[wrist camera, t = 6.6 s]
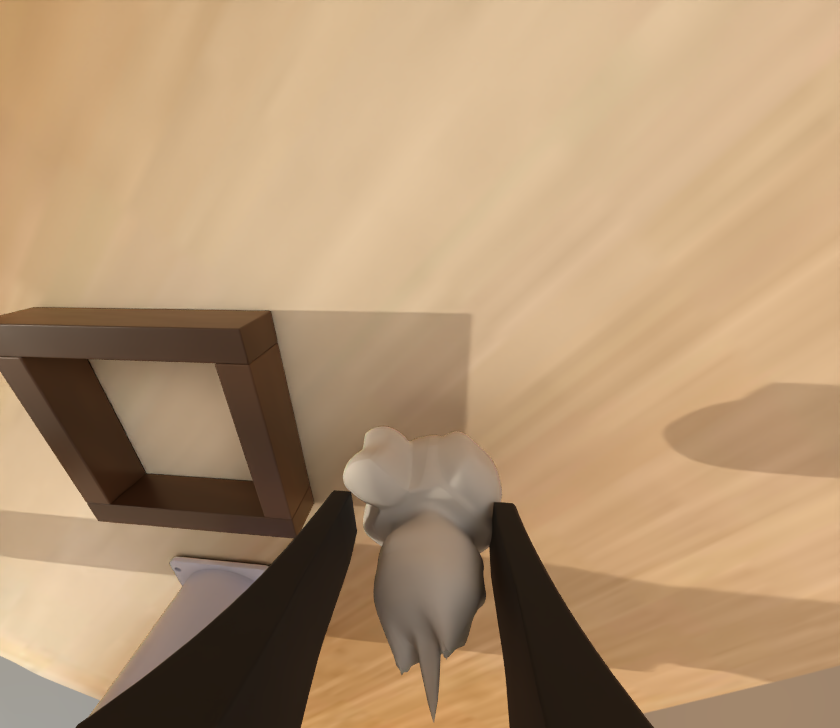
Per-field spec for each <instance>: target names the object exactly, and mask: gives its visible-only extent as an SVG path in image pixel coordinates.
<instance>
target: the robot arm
mask: <svg viewBox="0 0 840 728" xmlns="http://www.w3.org/2000/svg"><path fill="white" fill-rule="evenodd" d="M356 534H357V528H356V521H355V515H354V508H353V501H352V495H351V492H349V491H335V490H334V491H333V492H332V493H331V494H330V495H329V497H328V498H327V499H326V500H325V502H324V503H323V504H322V506H321V507H320V508H319V509H318V511H317V512H316V513H315V514H314V516H313V517H312V518H311V519H310V521H309V522H308V523H307V524H306V525H305V527H304V528H303V529H302V530H301V531H300V532H299V534H298V535H297V536H296V537H295V538H294V539H293V541H292V542H291V543H290V544H289V545H288V546H287V548H286V549H285V550H284V551H283V552H282V553H281V554H280V555H279V556H278V557H277V558H276V560H275V561H274V562H273V563H272V564H271V565H270V566H267V565H259V564H249V563H238V562H228V561H218V560H208V559H198V558H187V557H173V558H172V560H171V561H170V566H171V567H172V569H173V571H174V573H175V574H176V576H177V578H178V580H179V582H180V583H181V585H182V588H181V589H180V590H179V592H178V593H177V594H176V596H175V597H174V599H173V600H172V601H171V603H170V604H169V606H168V607H167V608H166V610H165V611H164V613H163V614H162V615H161V617H160V618H159V620H158V621H157V622H156V624H155V625H154V626H153V628H152V629H151V631H150V632H149V633H148V635H147V636H146V638H145V639H144V640H143V642H142V643H141V645H140V646H139V647H138V649H137V650H136V652H135V653H134V654H133V656H132V657H131V658H130V660H129V661H128V663H127V664H126V665H125V667H124V668H123V670H122V671H121V672H120V674H119V675H118V677H117V678H116V679H115V681H114V682H113V684H112V685H111V686H110V688H109V689H108V690H107V692H106V693H105V695H104V696H103V697H102V699H101V700H100V702H99V703H98V704H97V706H96V707H95V709H94V710H93V712H92V713H91V714H90V716H89V717H88V718H86V719H85V720H84V721H82V722H81V723H79V724H78V725H77V726H76V728H301V724H302V720H303V716H304V712H305V708H306V704H307V699H308V695H309V691H310V688H311V684H312V680H313V676H314V672H315V668H316V664H317V661H318V657H319V653H320V650H321V647H322V644H323V640H324V637H325V634H326V631H327V628H328V625H329V623H330V620H331V617H332V614H333V611H334V608H335V605H336V602H337V599H338V596H339V593H340V591H341V588H342V585H343V582H344V579H345V576H346V573H347V570H348V567H349V564H350V560H351V556H352V552H353V547H354V543H355V538H356ZM489 548H490V566H491V579H492V586H493V592H494V599H495V606H496V612H497V619H498V626H499V632H500V639H501V645H502V652H503V659H504V667H505V675H506V686H507V699H508V712H509V725H510V728H654V727H653V726H652V725H651V723H650V722H649V721H648V720H647V718H646V717H645V716H644V714H643V713H642V712H641V710H640V709H639V708H638V706H637V705H636V704H635V702H634V701H633V700H632V699H631V697H630V696H629V695H628V693H627V692H626V691H625V689H624V688H623V687H622V685H621V684H620V683H619V681H618V680H617V679H616V678H615V676H614V675H613V674H612V672H611V671H610V669H609V668H608V667H607V665H606V664H605V662H604V661H603V659H602V658H601V657H600V655H599V654H598V652H597V651H596V650H595V648H594V647H593V645H592V644H591V642H590V641H589V639H588V638H587V636H586V635H585V633H584V632H583V630H582V629H581V627H580V626H579V624H578V623H577V621H576V620H575V618H574V617H573V615H572V613H571V612H570V610H569V609H568V607H567V605H566V604H565V602H564V600H563V599H562V597H561V595H560V594H559V592H558V590H557V589H556V587H555V585H554V583H553V582H552V580H551V578H550V576H549V575H548V573H547V571H546V569H545V567H544V565H543V564H542V562H541V560H540V558H539V556H538V554H537V552H536V550H535V548H534V546H533V544H532V542H531V540H530V538H529V536H528V534H527V532H526V530H525V528H524V525H523V523H522V521H521V519H520V516H519V514H518V511H517V509H516V506H515V505H514V504H513V503H501V502H494V506H493V514H492V538H491V542H490V545H489Z"/></svg>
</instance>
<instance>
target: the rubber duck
mask: <svg viewBox="0 0 840 728" xmlns="http://www.w3.org/2000/svg"><path fill="white" fill-rule="evenodd" d="M343 482H344V484H345V486H346V488H347V489H348V490H349V491H351V492H352V493H353V494H354V495H355V496H356V497H358V498H359V499H360V500H362V501H364V502H365V503H366V506H365V511H364V517H363V527H364V530H365V532H366V534H367V535H368V536H369V537H370V538H371V539H372V540H374V541H375V542H376V543H378V544H379V545H380V546H382V547H381V550H380V553H379V558H378V565H377V571H376V575H375V581H374V602H375V607H376V610H377V614H378V617H379V620H380V622H381V625H382V627H383V630H384V632H385V635H386V637H387V640H388V642H389V645H390V648H391V650H392V653H393V655H394V658H395V662H396V665H397V667H398V668H399V670H400V671H401V675H402V674H403V672H408V670H409V669H410V667H411V666H413V665H415V664H417V663H420V667H421V672H422V677H423V682H424V687H425V691H426V696H427V701H428V705H429V708H430V712H431V715H432V719H433V722H434V719H435V713H436V707H437V702H438V692H439V677H440V657H441V654H443V655H444V658H446V659H447V657H449V656H450V655H451V654H452V653H453V651H454V650H456V649H457V648H459V647H462V646H464V645H465V643H466V640H467V638H468V635H469V631H470V627H471V623H472V620H473V617H474V615H475V613H476V612H477V610H478V609H479V608H480V607H481V606H482V605H483V604H484V602H485V599H486V591H485V585H484V577H483V570H484V565H483V560H482V557H481V555H480V553H481V552H483V551H484V550H486V549H487V548H488V547H489V545H490V542H491V538H492V514H493V506H494V502H501V498H502V487H501V481H500V478H499V474H498V471H497V469H496V466H495V464H494V462H493V460H492V458H491V457H490V456H489V455H488V454H487V453H486V452H485V451H484V450H483V449H482V448H481V447H480V446H479V445H478V444H477V443H476V442H474V441H473V440H472V439H471V438H470V437H469V436H468V435H466V434H464V433H462V432H458V431H454V432H451V433H449V434H446V435H444V436H439V435H428V436H423V437H419V438H416V439H413V440H411V441H408V439H407V438H406V437H405V436H404V435H403V434H401V433H400V432H399V431H397V430H395V429H393V428H391V427H387V426H378V427H375V428H372V429H370V430H369V431H368V432H367V433H366V434H365V437H364V445H363V449H362V450H361V451H359V452H358V453H356V454H355V455H354V456H353V457H352V458H351V459H350V460H349V462H348V463H347V465H346V467H345V469H344V473H343Z"/></svg>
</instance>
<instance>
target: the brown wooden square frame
mask: <svg viewBox="0 0 840 728" xmlns="http://www.w3.org/2000/svg"><path fill="white" fill-rule="evenodd" d="M87 359H104V360H135V361H166V362H197V363H216V364H215V366H216V369H217V372H218V376H219V379H220V382H221V385H222V388H223V391H224V394H225V397H226V400H227V403H228V406H229V409H230V412H231V415H232V418H233V421H234V424H235V427H236V430H237V434H238V437H239V440H240V443H241V446H242V449H243V452H244V455H245V458H246V461H247V464H248V467H249V470H250V473H251V476H252V479H253V481H241V480H227V479H213V478H199V477H185V476H170V475H156V474H145V471H144V469H143V467H142V465H141V463H140V461H139V459H138V457H137V455H136V453H135V451H134V449H133V448H132V446H131V444H130V442H129V440H128V438H127V436H126V434H125V432H124V430H123V428H122V426H121V424H120V422H119V420H118V418H117V417H116V415H115V413H114V411H113V409H112V407H111V405H110V403H109V401H108V399H107V397H106V395H105V393H104V391H103V389H102V387H101V386H100V384H99V382H98V380H97V378H96V376H95V374H94V372H93V370H92V368H91V366H90V364H89V362H88V360H87ZM0 372H1V373H2V375H3V376H4V378H5V379H6V381H7V382H8V384H9V385H10V387H11V388H12V390H13V392H14V393H15V395H16V396H17V398H18V399H19V401H20V402H21V404H22V405H23V407H24V408H25V410H26V411H27V413H28V414H29V416H30V417H31V419H32V420H33V422H34V423H35V425H36V427H37V428H38V430H39V431H40V433H41V434H42V436H43V437H44V439H45V440H46V442H47V443H48V445H49V446H50V448H51V449H52V451H53V452H54V454H55V455H56V457H57V458H58V460H59V462H60V463H61V465H62V466H63V468H64V469H65V471H66V472H67V474H68V475H69V477H70V478H71V480H72V481H73V483H74V484H75V486H76V487H77V489H78V490H79V492H80V493H81V495H82V497H83V498H84V500H85V501H86V502H87V504H88V506H89V507H90V509H91V511H92V512H93V514H94V515H95V517H96V518H97V520H98V521H103V522H114V523H125V524H137V525H148V526H159V527H171V528H182V529H193V530H205V531H216V532H227V533H239V534H250V535H261V536H272V537H284V538H295V537H296V536H297V535H298V534H299V532H300V531H301V529H302V527H303V525H304V523H305V521H306V519H307V517H308V515H309V513H310V511H311V508H312V506H313V504H314V501H313V497H312V492H311V488H310V484H309V479H308V475H307V471H306V466H305V462H304V457H303V453H302V448H301V444H300V440H299V435H298V431H297V426H296V422H295V418H294V413H293V409H292V404H291V400H290V395H289V391H288V387H287V382H286V378H285V373H284V369H283V364H282V360H281V356H280V351H279V347H278V343H277V337H276V333H275V329H274V324H273V320H272V315H271V312H270V311H240V310H173V309H106V308H39V307H33V308H29V309H24V310H20V311H16V312H12V313H8V314H4V315H0Z"/></svg>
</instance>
